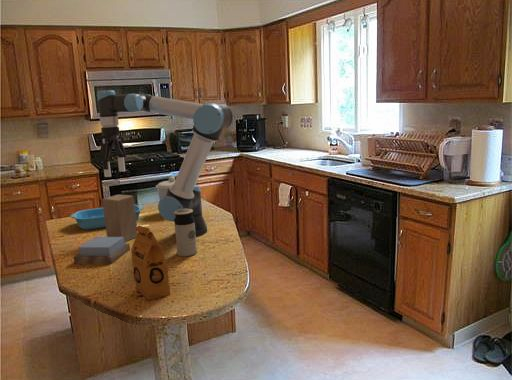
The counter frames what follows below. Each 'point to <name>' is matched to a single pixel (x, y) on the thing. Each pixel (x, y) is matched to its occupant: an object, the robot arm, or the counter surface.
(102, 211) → the casserole dish
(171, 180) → the canister
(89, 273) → the counter surface
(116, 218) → the wooden block
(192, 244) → the travel mug
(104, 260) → the walnut slab
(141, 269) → the coffee package
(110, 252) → the slate slab
